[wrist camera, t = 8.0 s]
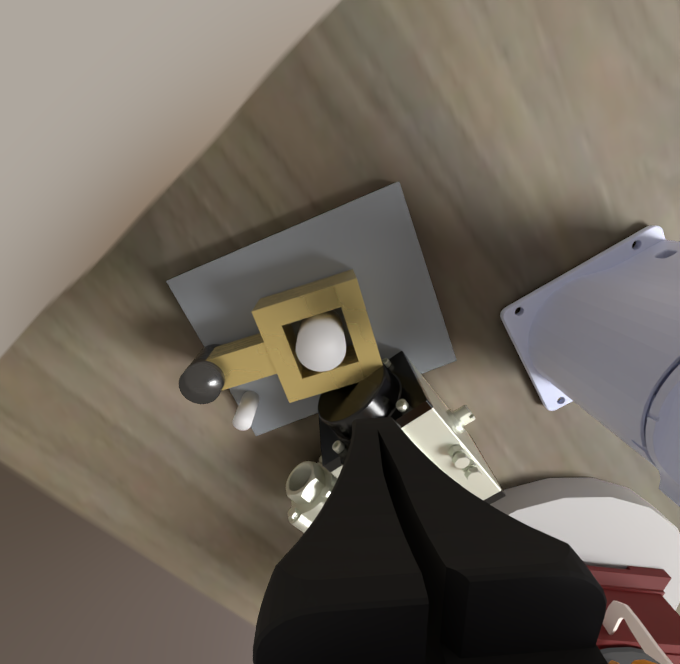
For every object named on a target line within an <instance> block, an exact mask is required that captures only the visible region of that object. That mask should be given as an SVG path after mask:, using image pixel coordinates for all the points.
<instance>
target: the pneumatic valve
mask: <svg viewBox="0 0 680 664" xmlns="http://www.w3.org/2000/svg"><path fill="white" fill-rule="evenodd" d="M381 361H382V364H383V366H382V367H380V368H379V369H377V370H376V371H374V372H373V373H372V374H370V375H369V376H367V377H366V378H365V379H363V380H362V381H360V382H358V383H355V384H351V385H348V386H345V387H341V388H338V389H335V390H331V391H328V392H324V393H321V395H320V398H319V401H318V414H319V425H320V439H321V453H322V455H321V456H320V458H319V463H315V462H312V461H304V462H302V463H300V464H299V465H297V466H296V467H295V468H294V469H293V470H292V472H291V473H290V475H289V477H288V479H287V482H286V493H287V497H289V498H290V499H291V506H292V507H291V508H290V510H289V511H288V517H289V518H288V520H289V522H290V523H291V524H292V525H294V526H295V527H296V528H298V529H299V530H301V531H302V532H303V533H305V531H306V530H307V529H308V527H309V526H310V525H311V523H312V522H313V521H314V519H315V518H316V516H317V515H318V513H319V512H320V510H321V509H322V507H323V505H324V504H325V502H326V500H327V499H328V497H329V495H330V493H331V491H332V489H333V487H334V485H335V483H336V481H337V479H338V477H339V474H340V472H341V469H342V467H343V464H344V462H345V459H346V456H347V453H348V449H349V446H350V442H351V437H352V422H353V421H354V420H355V419H367V418H385V417H391V418H392V419H393V420H394V421H395V422H396V423H397V424H398V426H399V427H400V428H401V429H402V430H403V432H404V433H405V434H406V435H407V436H408V437H409V438H410V439H411V441H412V442H413V443H414V444H415V445H416V446H417V447H418V448H419V449H420V450H421V451H422V452H423V453H424V454H425V455H426V456H427V457H428V458H429V459H430V460H431V461H432V462H433V463H434V464H435V465H437V466H438V467H439V468H440V469H441V470H442V471H443V472H444V473H446V474H447V475H448V476H449V477H451V478H452V479H453V480H455V481H456V482H457V483H459V484H460V485H461V486H463V487H464V488H465V489H467V490H468V491H470V492H471V493H472V494H474V495H475V496H477V497H479V498H480V499H482V500H483V501H485V502H487V503H488V504H490V505H491V504H492V503H494V502H496V501H498V500H499V499H501V498H503V497H505V496H506V494H505V492H504V491H503V489H502V487H501V486H500V484H499V482H498V481H497V479H496V477H495V476H494V474H493V472H492V471H491V469H490V467H489V466H488V464H487V462H486V461H485V459H484V457H483V456H482V454H481V452H480V451H479V449H478V447H477V446H476V444H475V442H474V441H473V439H472V437H471V436H470V435H469V434H468V432H467V431H466V430H465V429H464V427H463V426H465V425H467V424H468V423H470V422H471V421H473V420H475V417H474V415H473V414H472V412H471V411H470V410H469V409H468V407H467V406H466V405H463V406H462V407H460V408H458V409H457V410H455V411H454V412H453V411H452V410H451V409H448V407H447V406H446V405H445V404H444V402H443V401H442V400H441V399H440V397H439V396H438V395H437V394H436V392H435V391H434V390H433V389H432V387H431V386H430V385H429V384H428V382H427V381H426V380H425V378H424V377H423V376H422V375H421V374H420V373H419V371H418V370H417V369H416V367H415V366H414V365H413V363H412V362H411V361H410V360H409V358H408V357H407V356H406V355H405V353H404V352H403V351H400V352H399V353H397V354H396V355H394V356H393V357H391V358H390V359H388V358H384V359H382V360H381Z"/></svg>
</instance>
